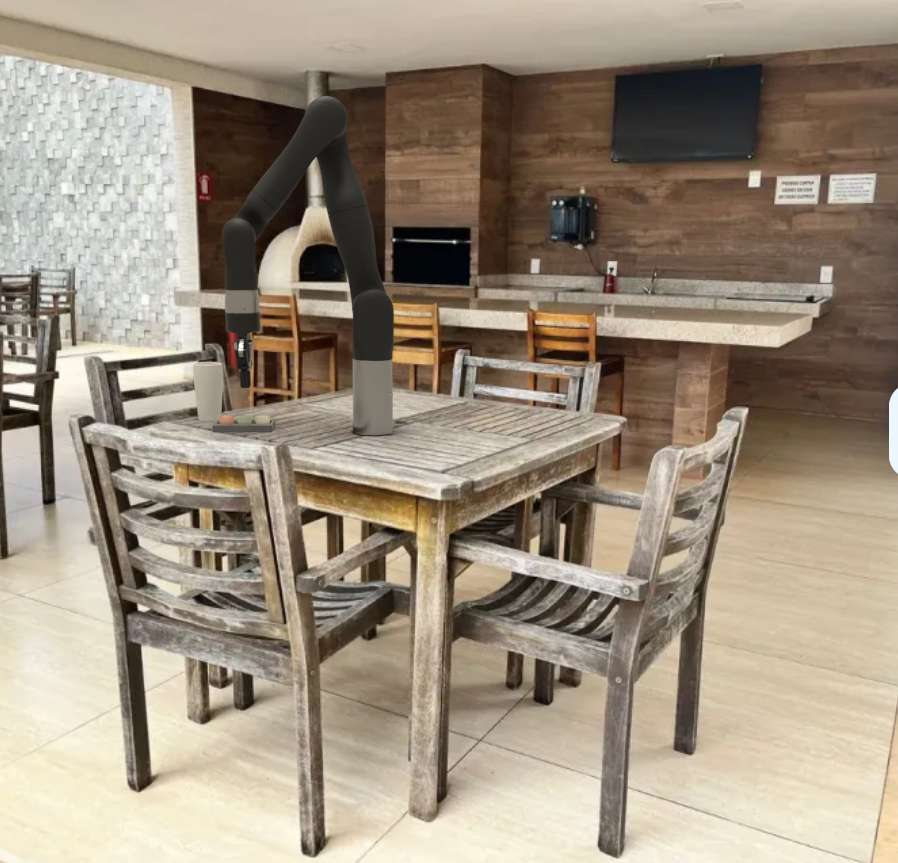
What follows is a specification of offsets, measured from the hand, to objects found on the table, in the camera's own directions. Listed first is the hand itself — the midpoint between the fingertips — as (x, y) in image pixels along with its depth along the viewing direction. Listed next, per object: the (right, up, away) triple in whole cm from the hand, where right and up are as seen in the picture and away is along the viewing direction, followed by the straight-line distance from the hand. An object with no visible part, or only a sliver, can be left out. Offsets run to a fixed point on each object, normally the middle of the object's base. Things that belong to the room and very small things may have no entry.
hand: (245, 387), depth 202 cm
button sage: (0, -10, +1) cm, 11 cm away
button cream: (+3, -11, +1) cm, 11 cm away
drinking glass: (-12, -9, +12) cm, 19 cm away
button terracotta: (-4, -10, +1) cm, 11 cm away
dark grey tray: (0, -11, +1) cm, 11 cm away
